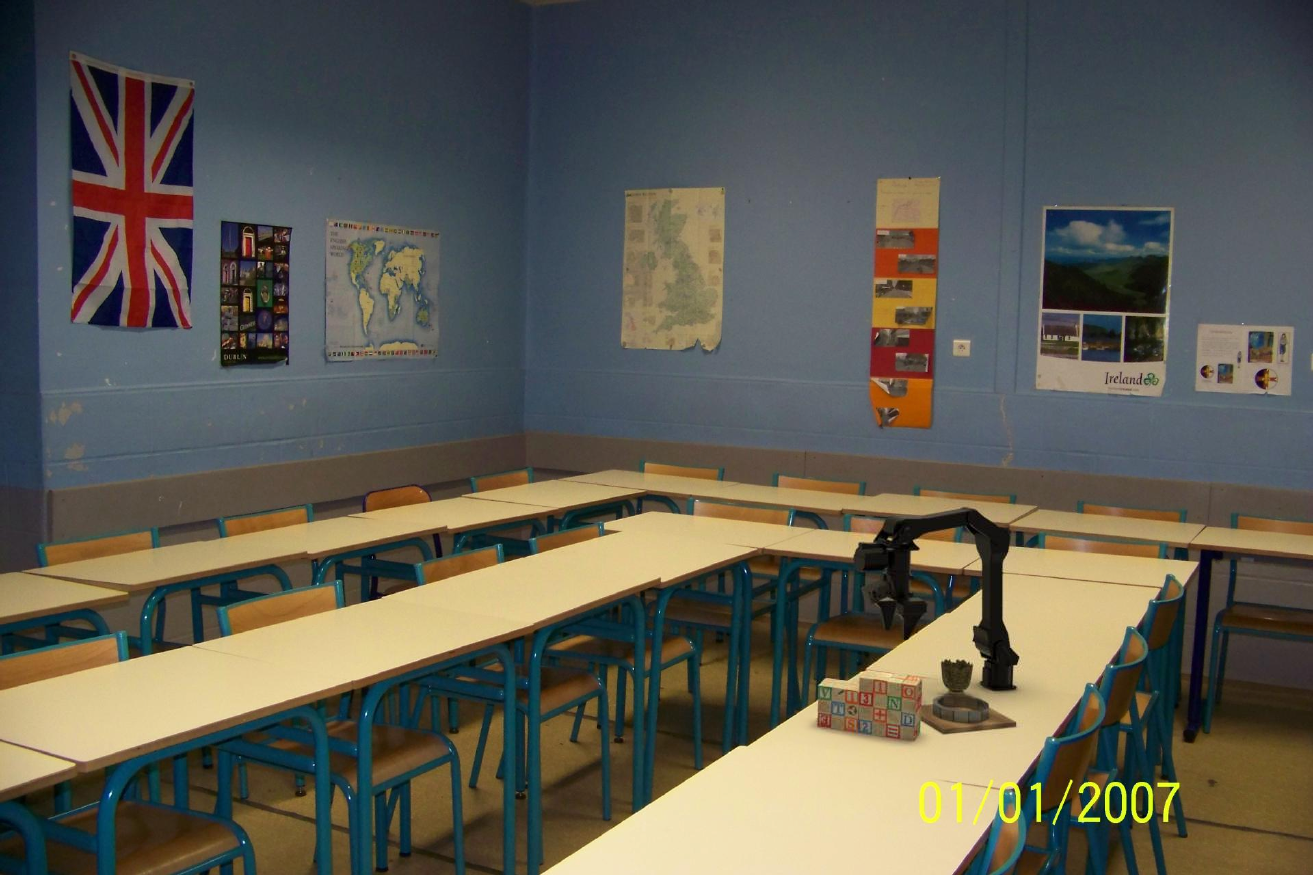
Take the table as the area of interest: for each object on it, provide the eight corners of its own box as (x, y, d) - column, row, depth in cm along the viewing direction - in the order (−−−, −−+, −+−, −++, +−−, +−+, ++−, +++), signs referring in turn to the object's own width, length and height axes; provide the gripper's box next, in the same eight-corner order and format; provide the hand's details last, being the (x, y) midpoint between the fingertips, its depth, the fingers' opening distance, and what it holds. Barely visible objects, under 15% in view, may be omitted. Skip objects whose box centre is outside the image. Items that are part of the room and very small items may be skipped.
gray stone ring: (969, 703, 270) (969, 693, 270) (999, 720, 259) (999, 709, 258) (922, 708, 266) (922, 697, 266) (950, 725, 255) (951, 713, 255)
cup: (969, 691, 283) (970, 658, 282) (974, 701, 275) (975, 667, 275) (937, 690, 283) (938, 657, 283) (942, 699, 276) (943, 666, 275)
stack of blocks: (816, 726, 257) (817, 671, 256) (824, 718, 262) (826, 664, 261) (914, 741, 248) (916, 684, 247) (921, 732, 253) (922, 676, 252)
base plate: (975, 704, 273) (976, 700, 273) (1016, 726, 258) (1016, 721, 258) (906, 710, 268) (906, 706, 268) (943, 733, 252) (943, 729, 252)
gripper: (849, 563, 283) (847, 627, 284) (885, 579, 265) (883, 647, 266) (891, 561, 286) (889, 624, 287) (929, 576, 268) (927, 644, 270)
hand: (896, 635), depth 278 cm, fingers open, 9 cm apart
